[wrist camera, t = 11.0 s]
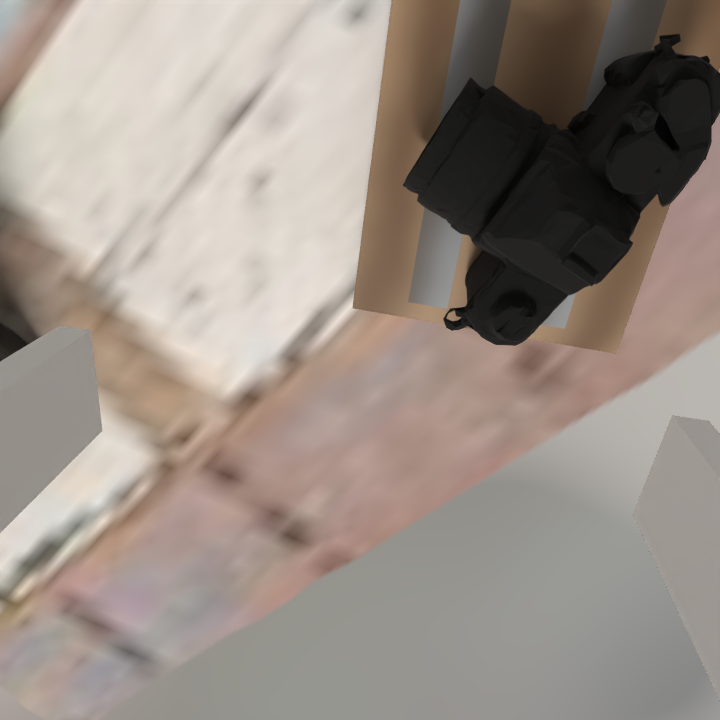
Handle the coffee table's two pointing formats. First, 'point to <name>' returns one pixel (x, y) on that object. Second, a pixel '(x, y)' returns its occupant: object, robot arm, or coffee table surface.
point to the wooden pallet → (532, 91)
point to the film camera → (562, 182)
